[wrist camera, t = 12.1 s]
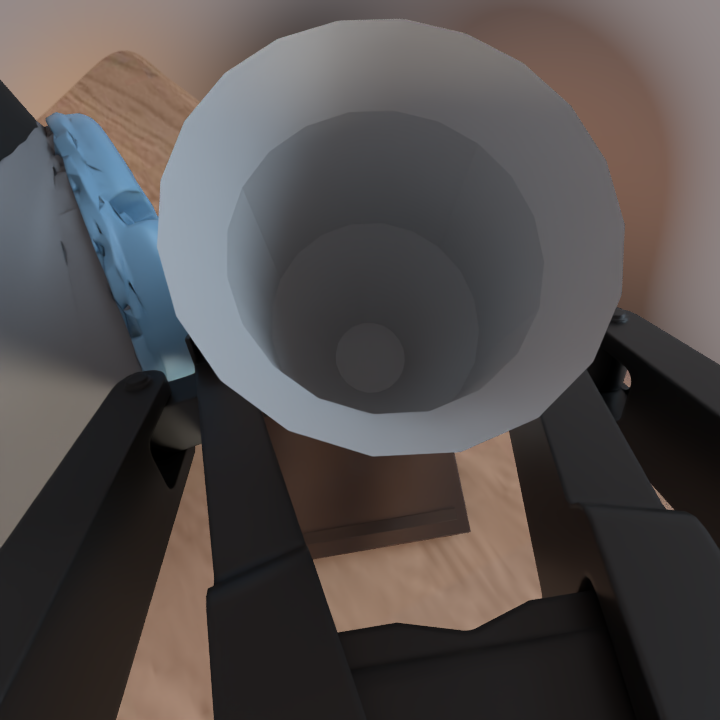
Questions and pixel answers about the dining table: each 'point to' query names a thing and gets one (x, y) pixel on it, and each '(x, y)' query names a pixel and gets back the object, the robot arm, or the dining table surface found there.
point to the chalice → (391, 237)
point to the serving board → (367, 494)
